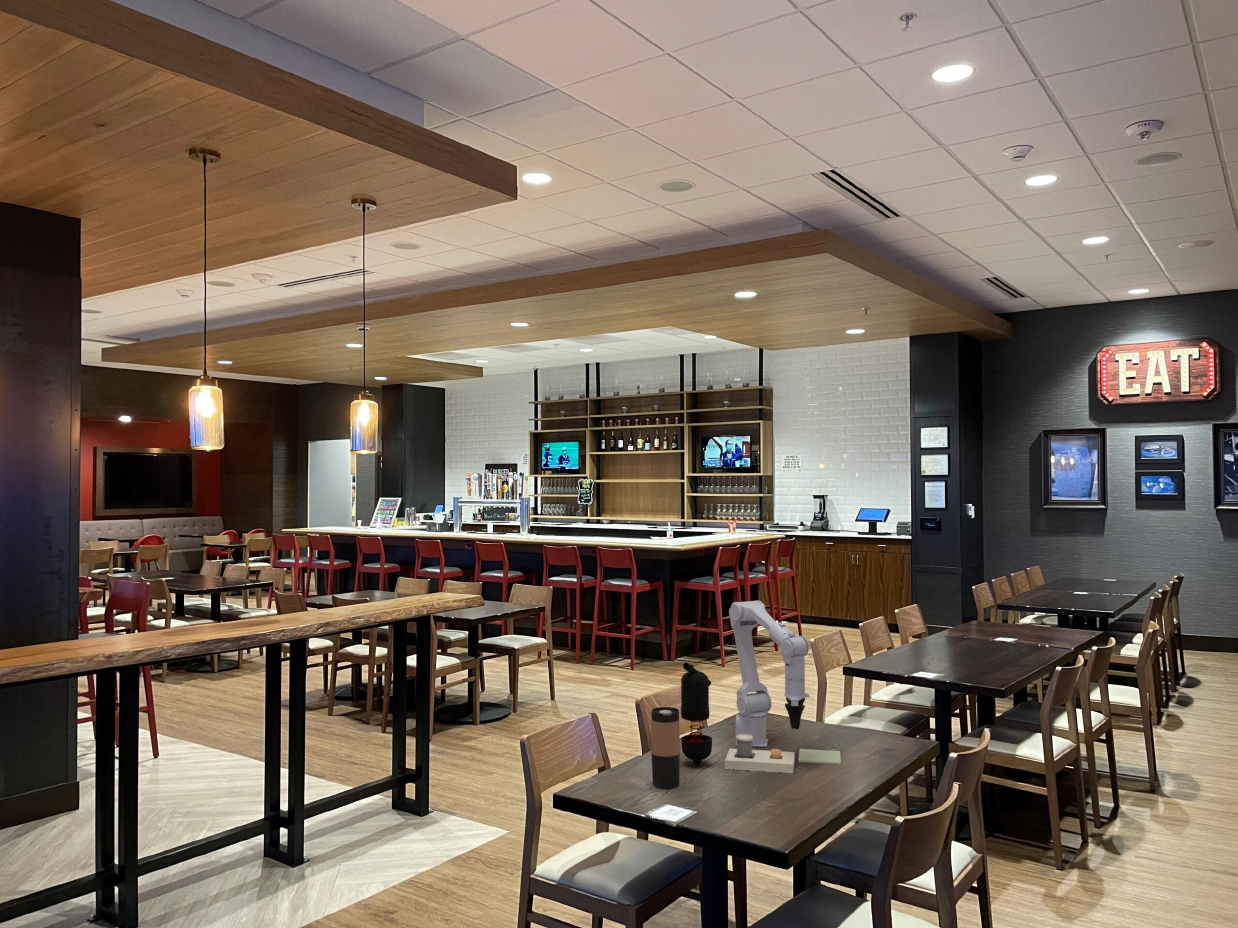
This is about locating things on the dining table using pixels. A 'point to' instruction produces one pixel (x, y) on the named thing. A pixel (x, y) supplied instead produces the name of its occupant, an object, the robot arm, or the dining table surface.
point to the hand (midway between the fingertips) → (795, 725)
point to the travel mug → (665, 747)
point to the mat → (819, 756)
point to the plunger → (775, 754)
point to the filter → (695, 713)
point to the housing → (761, 762)
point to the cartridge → (744, 746)
